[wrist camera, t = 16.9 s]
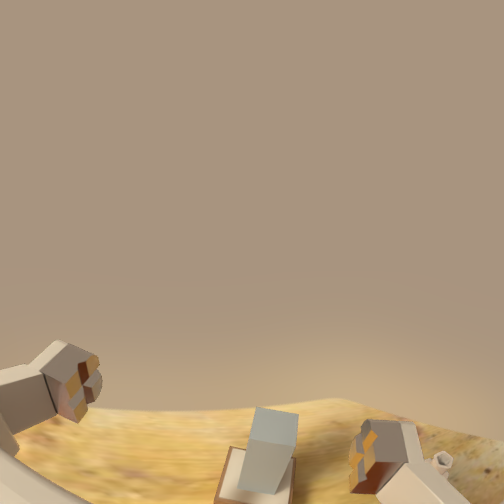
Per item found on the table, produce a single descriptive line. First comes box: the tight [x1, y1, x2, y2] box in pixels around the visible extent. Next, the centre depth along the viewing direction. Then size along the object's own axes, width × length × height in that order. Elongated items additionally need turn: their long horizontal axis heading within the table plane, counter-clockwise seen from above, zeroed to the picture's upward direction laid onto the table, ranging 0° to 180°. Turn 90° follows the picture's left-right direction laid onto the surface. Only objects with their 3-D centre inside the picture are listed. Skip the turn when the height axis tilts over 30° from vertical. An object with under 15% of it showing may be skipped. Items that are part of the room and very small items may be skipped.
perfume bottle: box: [424, 451, 454, 480], centre depth 22 cm, size 5×4×15 cm
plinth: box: [214, 446, 296, 504], centre depth 30 cm, size 8×8×3 cm
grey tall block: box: [237, 407, 299, 495], centre depth 27 cm, size 4×4×10 cm
